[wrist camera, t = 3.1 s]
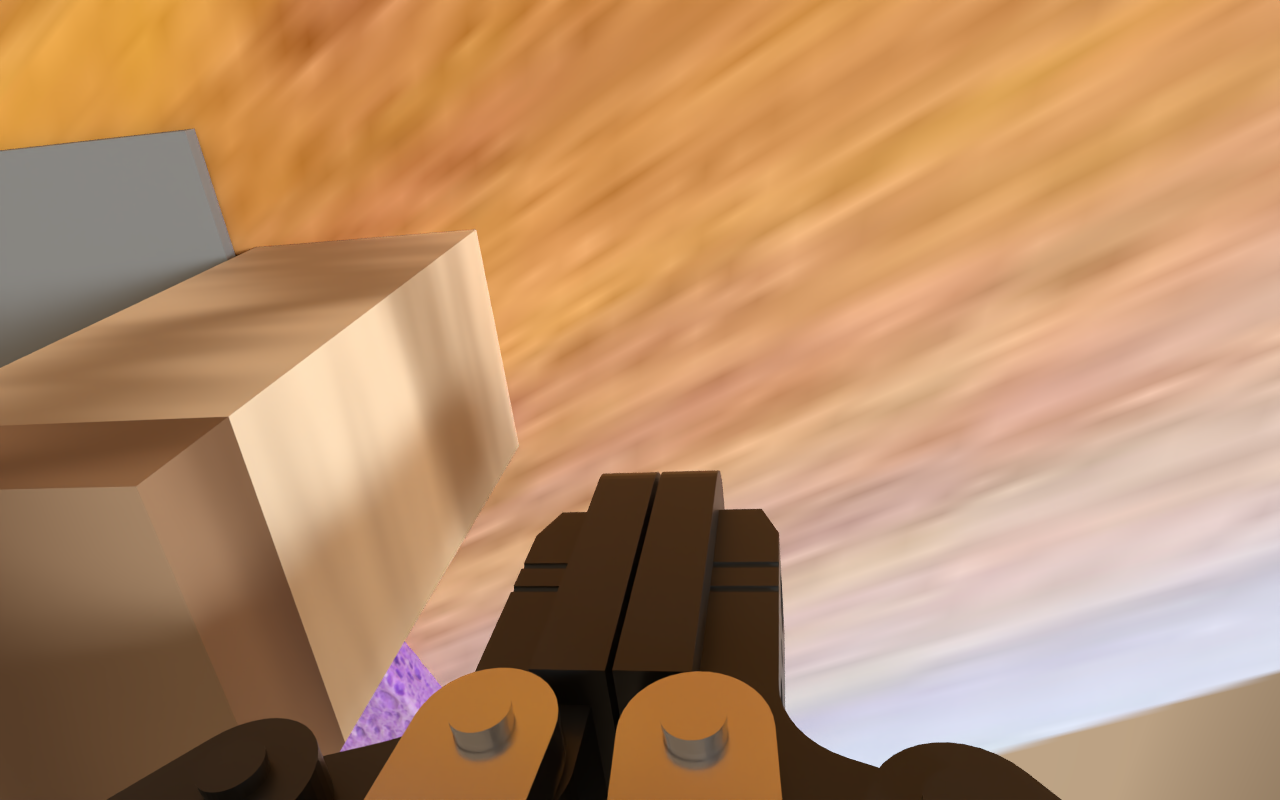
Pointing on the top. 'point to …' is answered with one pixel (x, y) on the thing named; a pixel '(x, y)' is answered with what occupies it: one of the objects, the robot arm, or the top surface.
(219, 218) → the mat
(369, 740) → the sponges
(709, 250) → the top surface
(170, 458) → the birch block
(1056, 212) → the top surface
